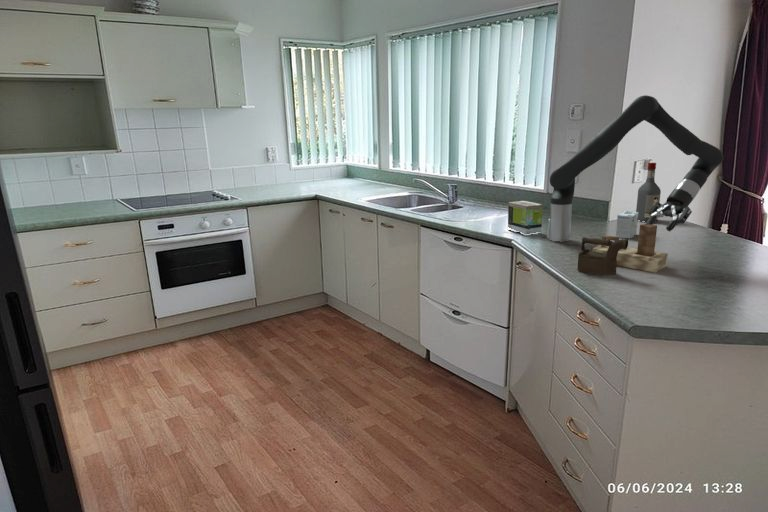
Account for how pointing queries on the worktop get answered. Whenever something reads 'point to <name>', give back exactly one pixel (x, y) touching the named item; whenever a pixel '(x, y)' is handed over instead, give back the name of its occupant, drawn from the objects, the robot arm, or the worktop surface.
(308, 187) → the worktop surface
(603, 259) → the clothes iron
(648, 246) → the walnut key
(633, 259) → the pine toolbox
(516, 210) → the tea box
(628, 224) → the light bulb box
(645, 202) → the liquor
